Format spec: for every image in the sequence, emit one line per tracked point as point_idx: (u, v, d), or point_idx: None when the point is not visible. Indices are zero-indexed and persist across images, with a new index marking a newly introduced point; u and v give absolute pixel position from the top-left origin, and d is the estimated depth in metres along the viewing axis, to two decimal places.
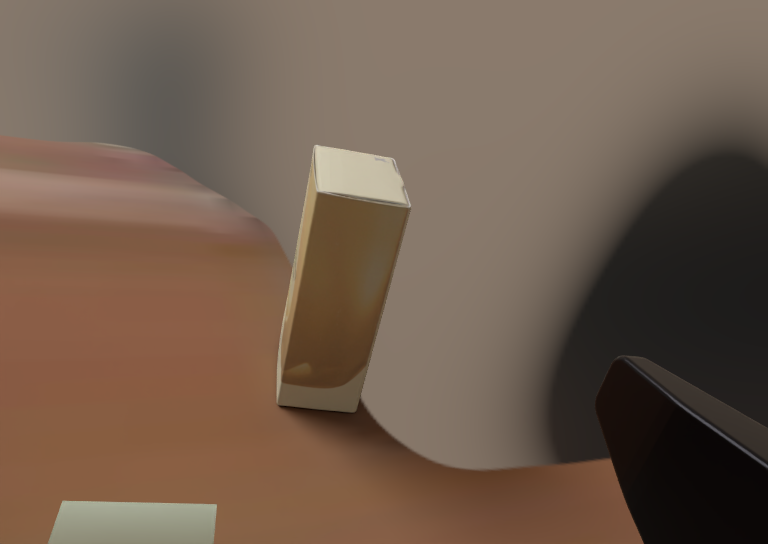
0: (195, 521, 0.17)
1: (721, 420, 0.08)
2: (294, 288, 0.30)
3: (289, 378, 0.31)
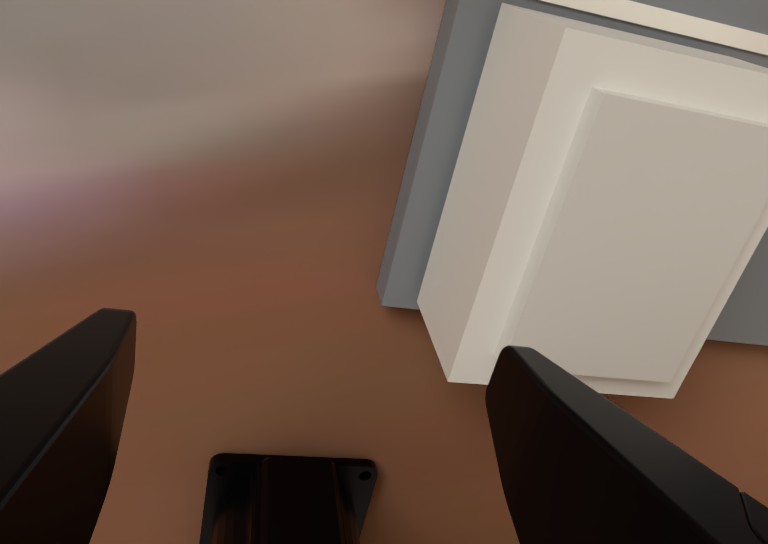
0: None
1: (588, 411, 0.07)
2: None
3: None
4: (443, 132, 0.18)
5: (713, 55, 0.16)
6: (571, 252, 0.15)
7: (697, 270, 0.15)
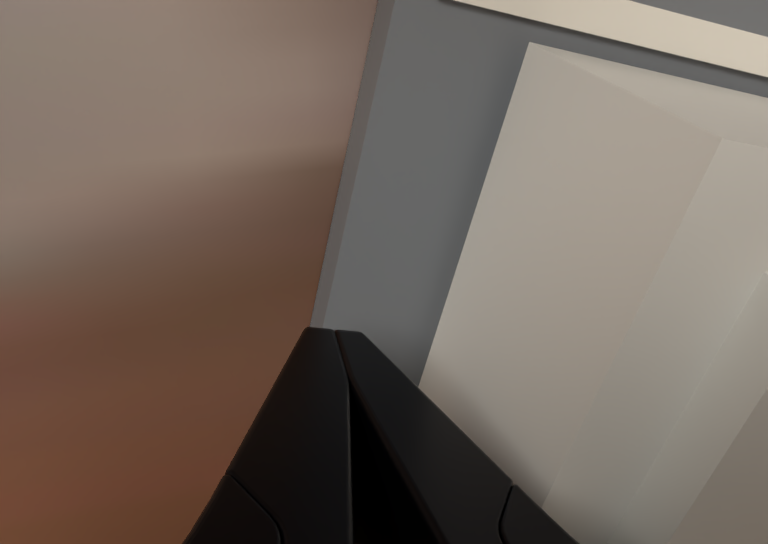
0: None
1: (382, 398, 0.07)
2: None
3: None
4: (370, 261, 0.10)
5: None
6: None
7: None
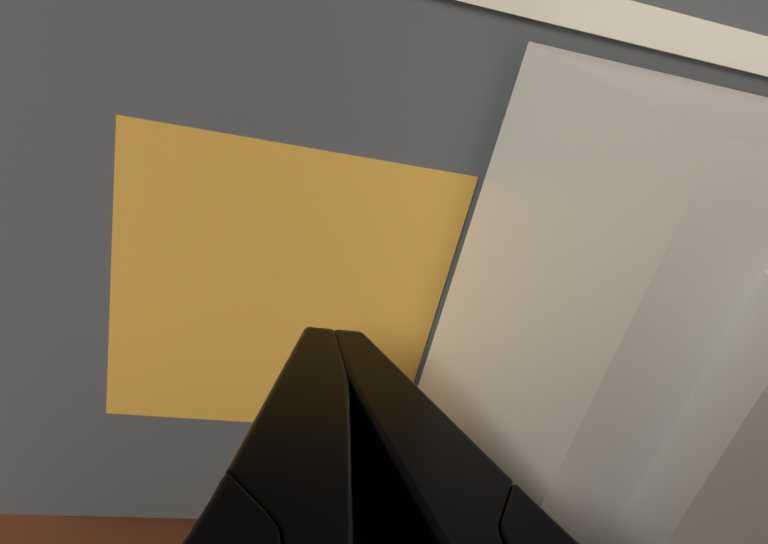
0: None
1: (382, 398, 0.07)
2: None
3: None
4: None
5: None
6: None
7: None
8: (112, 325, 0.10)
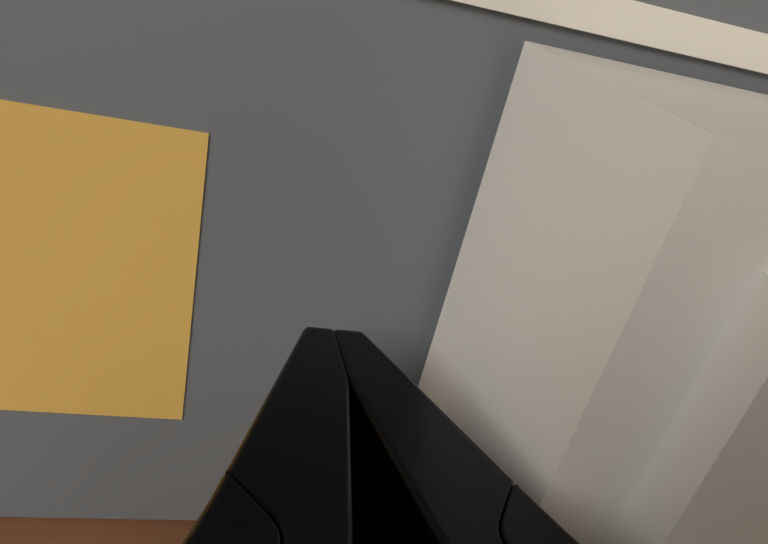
0: None
1: (382, 398, 0.07)
2: None
3: None
4: None
5: None
6: None
7: None
8: None
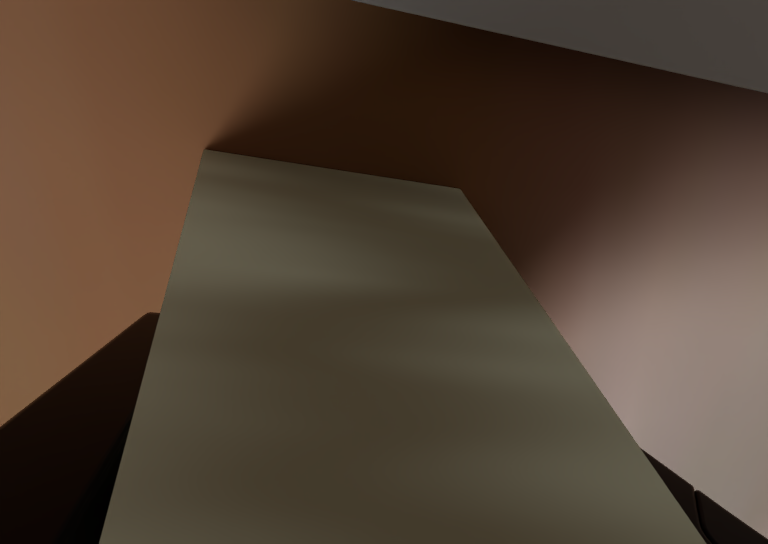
0: None
1: None
2: None
3: None
4: None
5: None
6: None
7: None
8: None
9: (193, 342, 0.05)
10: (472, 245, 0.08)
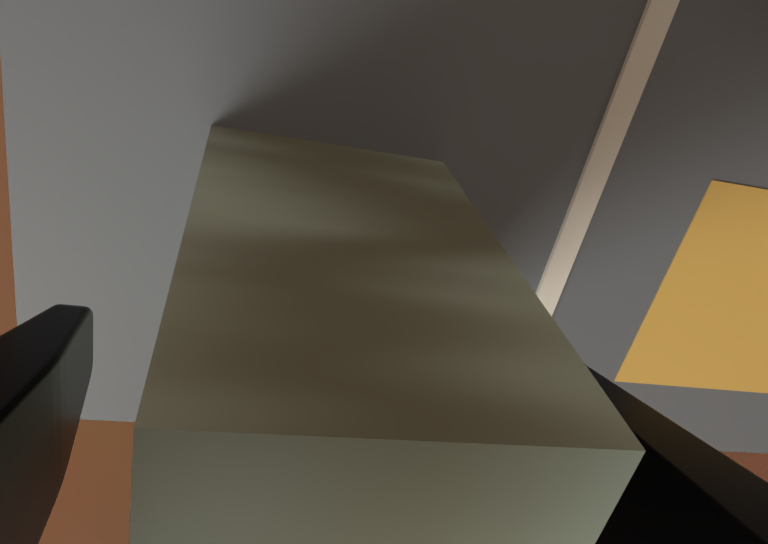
0: (215, 485, 0.05)
1: (626, 414, 0.08)
2: None
3: None
4: None
5: None
6: None
7: None
8: (732, 388, 0.15)
9: (207, 269, 0.06)
10: (450, 206, 0.09)
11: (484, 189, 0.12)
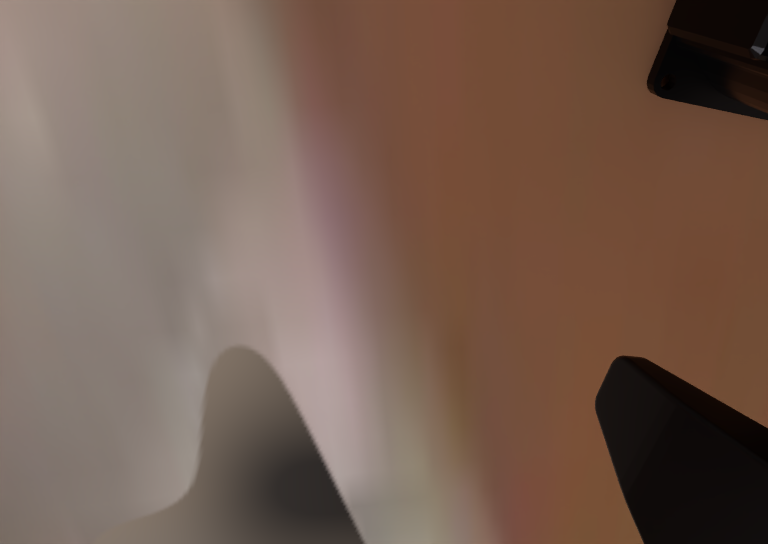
0: None
1: (721, 420, 0.08)
2: None
3: None
4: None
5: None
6: None
7: None
8: None
9: None
10: None
11: None
